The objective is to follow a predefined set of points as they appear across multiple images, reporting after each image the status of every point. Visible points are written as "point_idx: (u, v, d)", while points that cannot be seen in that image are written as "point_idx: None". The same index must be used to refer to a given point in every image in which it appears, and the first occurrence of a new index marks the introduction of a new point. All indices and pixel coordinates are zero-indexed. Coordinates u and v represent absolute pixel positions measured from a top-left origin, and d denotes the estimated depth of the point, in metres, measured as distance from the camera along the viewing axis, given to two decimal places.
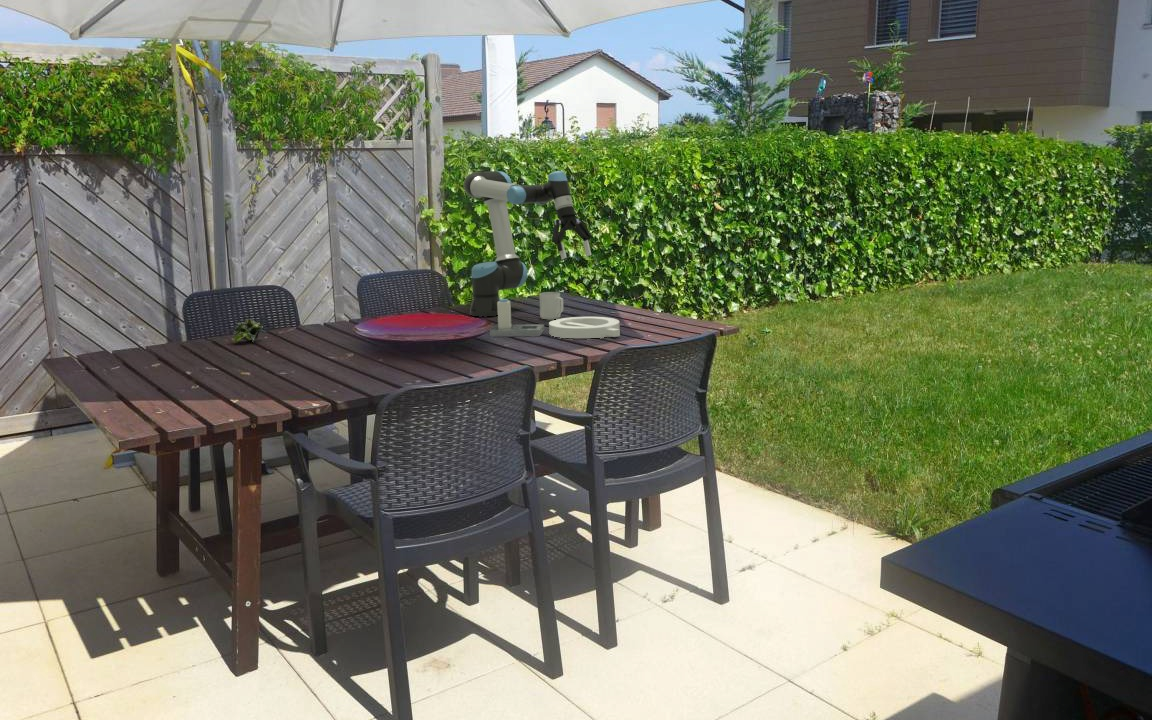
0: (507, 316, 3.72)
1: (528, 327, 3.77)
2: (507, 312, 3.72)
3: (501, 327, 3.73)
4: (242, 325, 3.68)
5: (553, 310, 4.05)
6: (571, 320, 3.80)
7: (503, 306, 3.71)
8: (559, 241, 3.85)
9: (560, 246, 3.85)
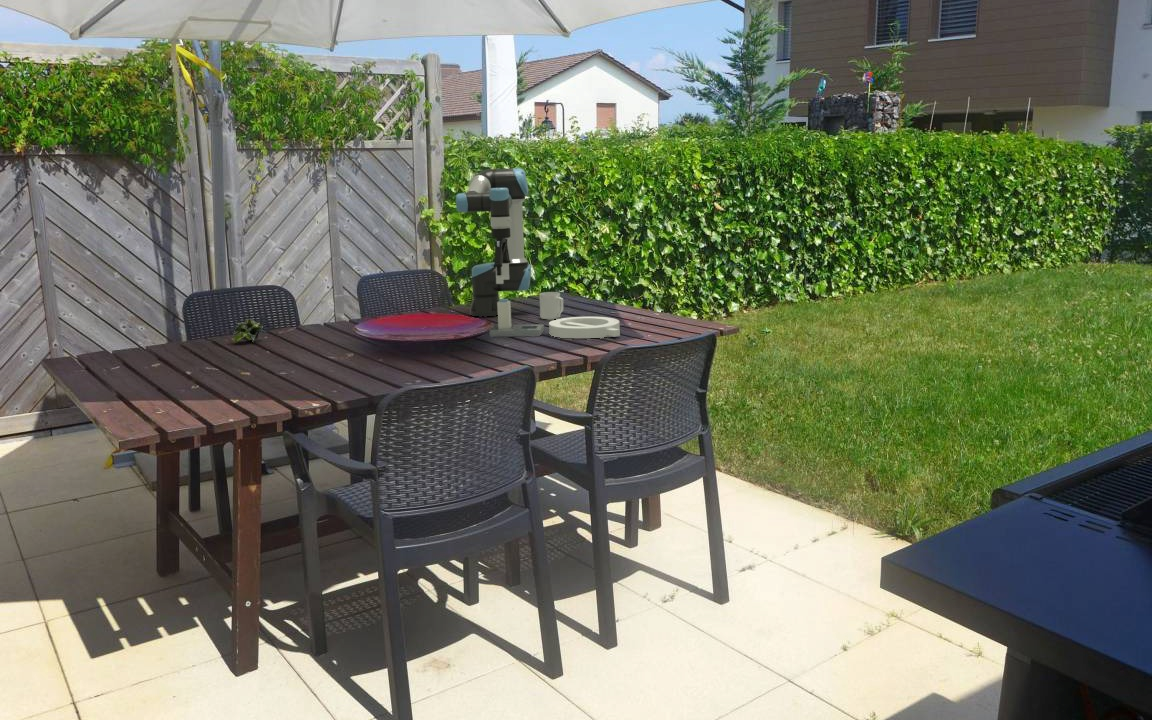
0: (507, 316, 3.72)
1: (528, 327, 3.77)
2: (507, 312, 3.72)
3: (501, 327, 3.73)
4: (242, 325, 3.68)
5: (553, 310, 4.05)
6: (571, 320, 3.80)
7: (503, 306, 3.71)
8: (501, 266, 3.62)
9: (500, 271, 3.63)
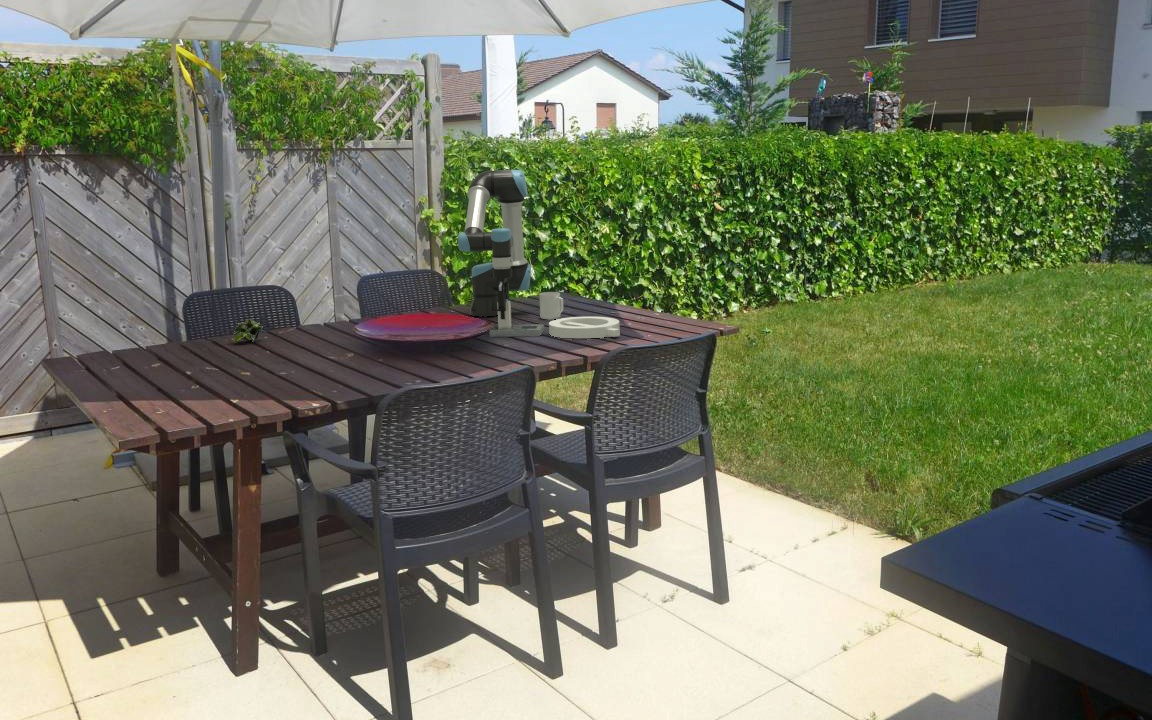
0: (507, 316, 3.72)
1: (528, 327, 3.77)
2: (507, 312, 3.72)
3: (501, 327, 3.73)
4: (242, 325, 3.68)
5: (553, 310, 4.05)
6: (571, 320, 3.80)
7: None
8: (505, 310, 3.70)
9: (504, 314, 3.71)
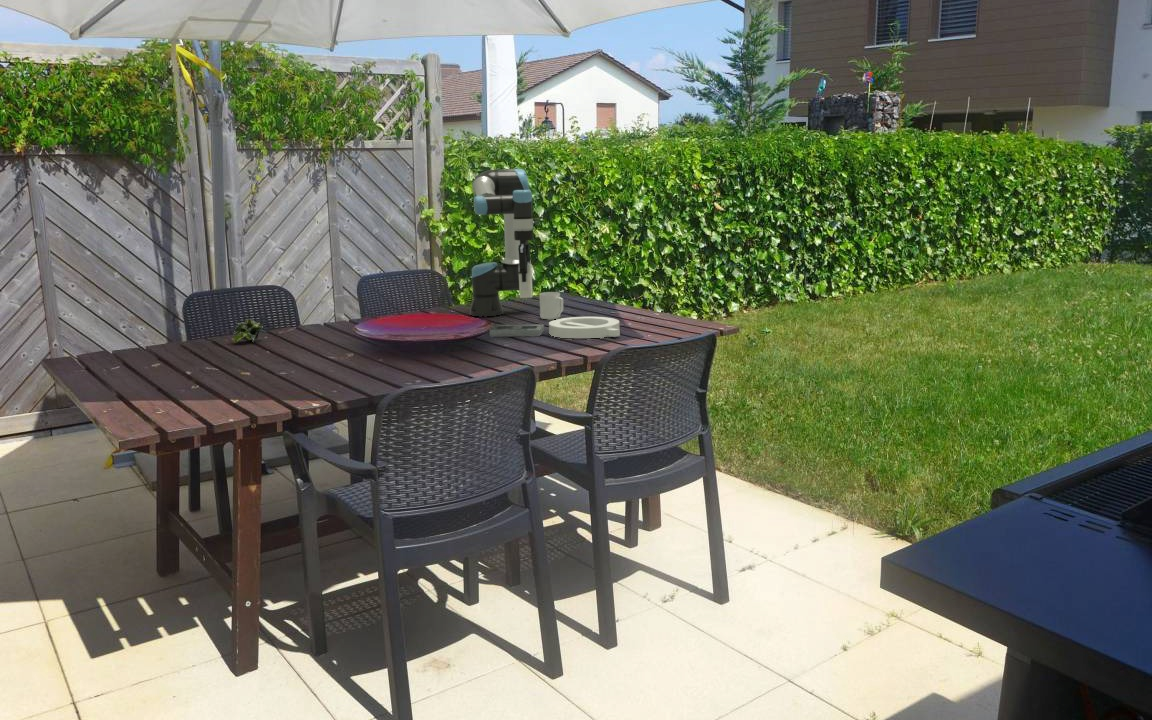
0: (528, 279, 3.68)
1: (528, 327, 3.77)
2: (528, 275, 3.67)
3: (522, 290, 3.69)
4: (242, 325, 3.68)
5: (553, 310, 4.05)
6: (571, 320, 3.80)
7: None
8: (526, 272, 3.66)
9: (525, 277, 3.66)
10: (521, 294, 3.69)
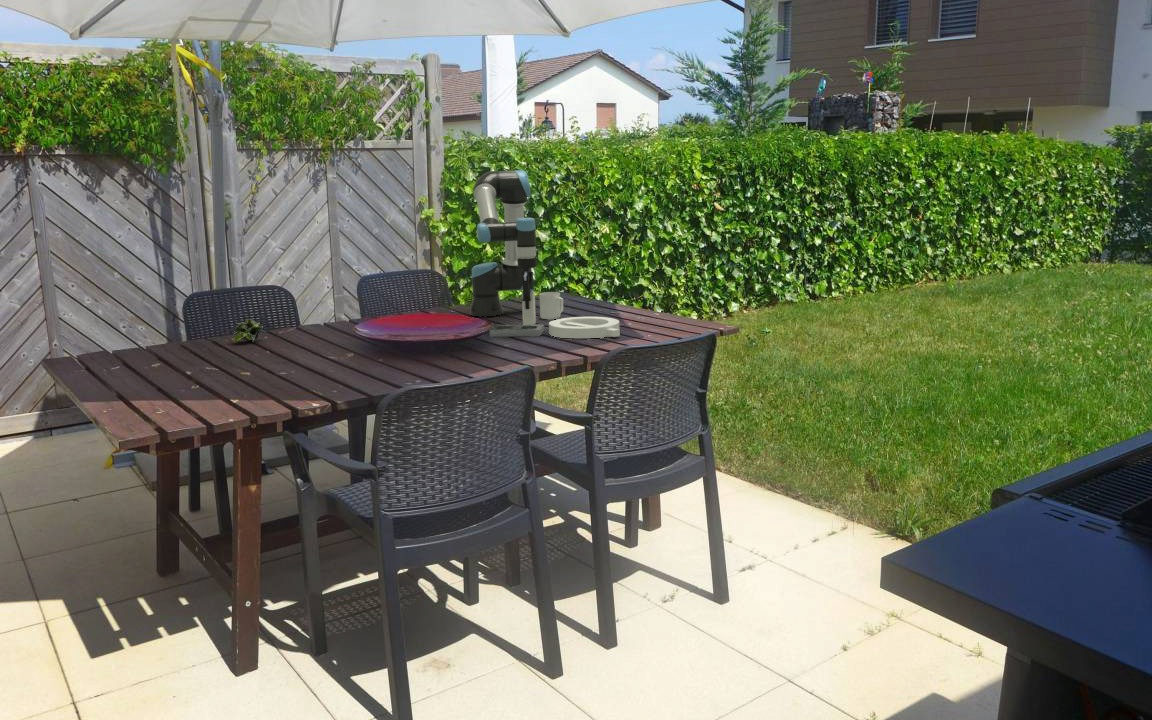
0: (532, 306, 3.70)
1: (528, 327, 3.77)
2: (532, 302, 3.70)
3: (525, 317, 3.71)
4: (242, 325, 3.68)
5: (553, 310, 4.05)
6: (571, 320, 3.80)
7: None
8: None
9: (529, 304, 3.69)
10: (524, 321, 3.72)
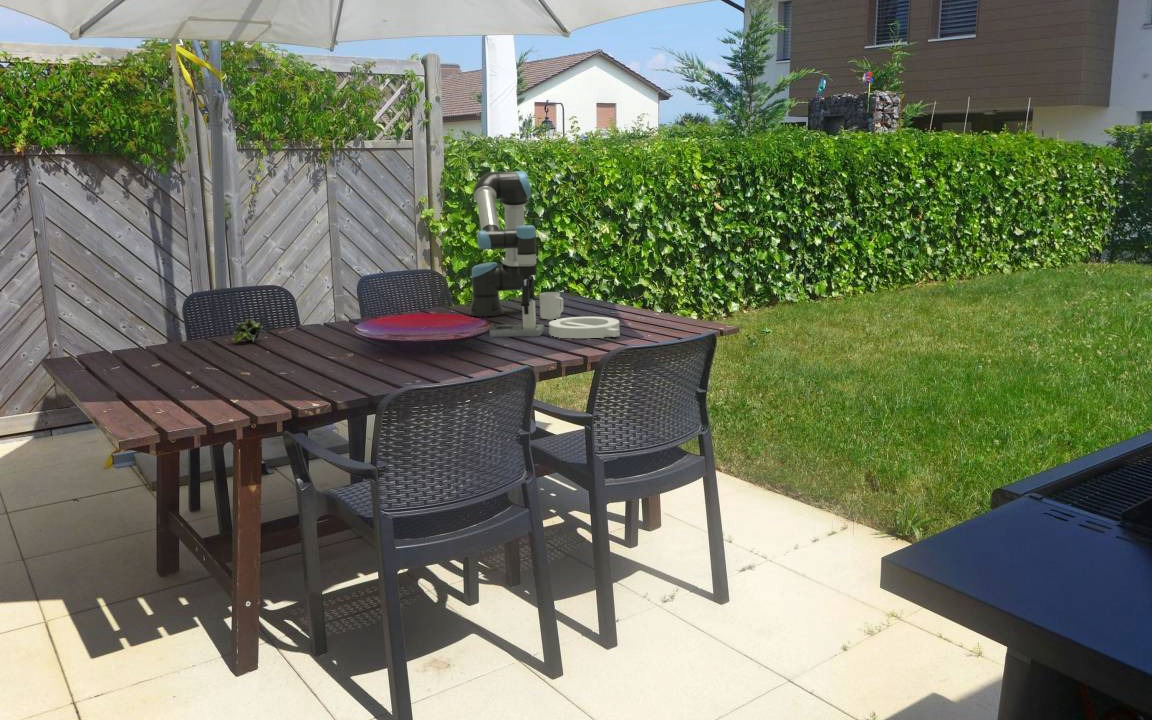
0: (532, 316, 3.71)
1: None
2: (532, 312, 3.71)
3: (526, 327, 3.72)
4: (242, 325, 3.68)
5: (553, 310, 4.05)
6: (571, 320, 3.80)
7: None
8: None
9: (528, 310, 3.66)
10: None
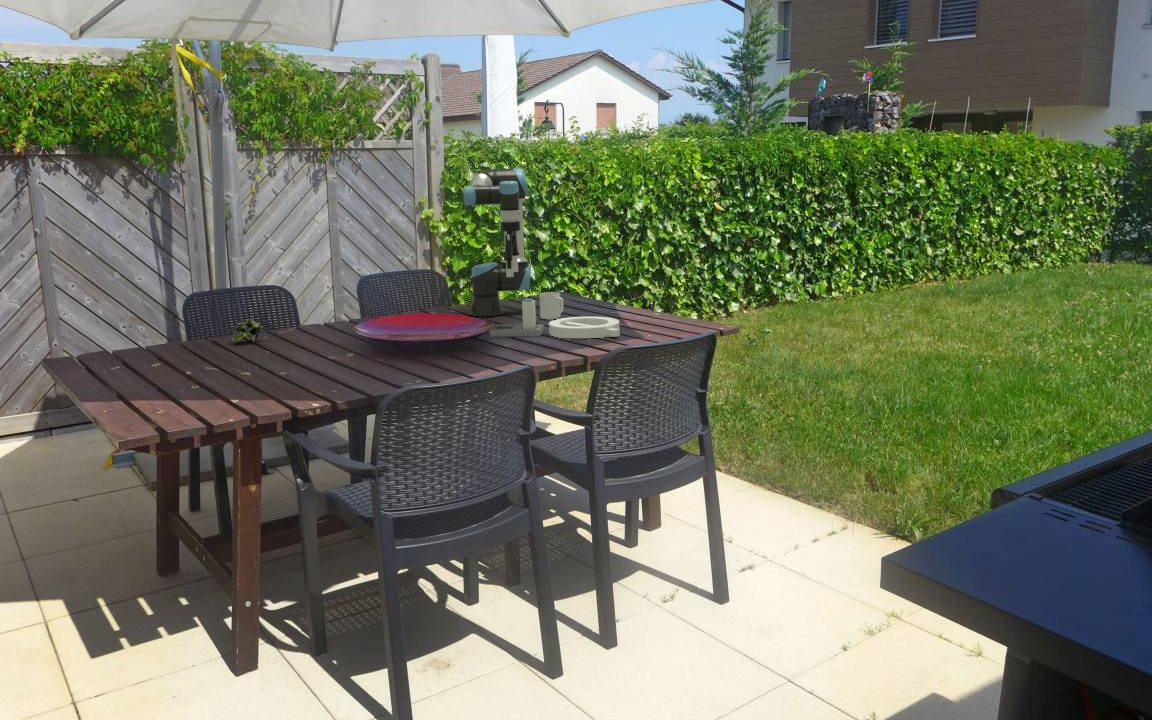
0: (532, 316, 3.71)
1: None
2: (532, 312, 3.71)
3: (526, 327, 3.72)
4: (242, 325, 3.69)
5: (553, 310, 4.05)
6: (571, 320, 3.80)
7: (528, 306, 3.70)
8: (511, 259, 3.65)
9: (511, 264, 3.66)
10: None
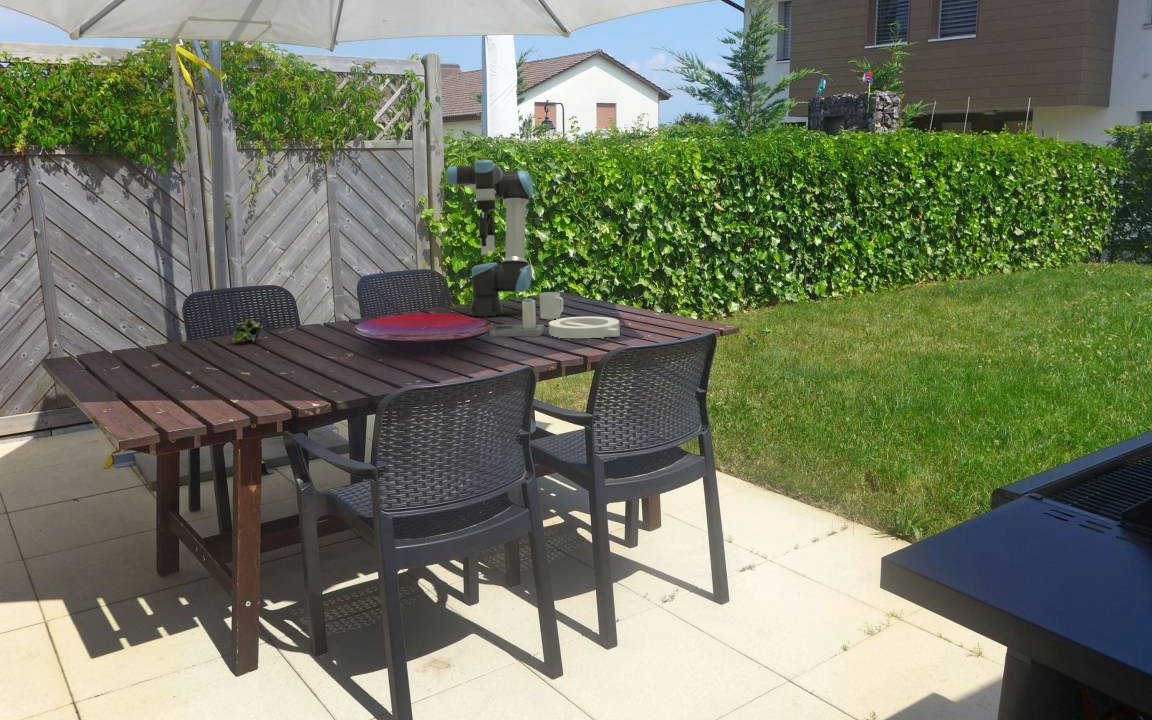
0: (532, 316, 3.71)
1: None
2: (532, 312, 3.71)
3: (526, 327, 3.72)
4: (242, 325, 3.68)
5: (553, 310, 4.05)
6: (571, 320, 3.80)
7: (528, 306, 3.70)
8: (486, 236, 3.68)
9: (485, 242, 3.69)
10: None
